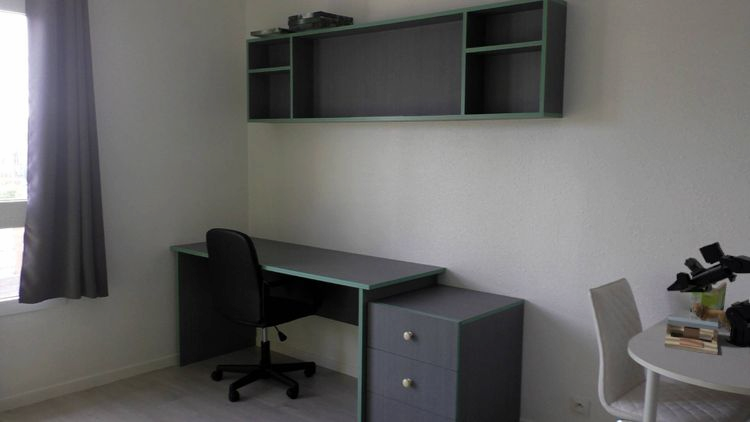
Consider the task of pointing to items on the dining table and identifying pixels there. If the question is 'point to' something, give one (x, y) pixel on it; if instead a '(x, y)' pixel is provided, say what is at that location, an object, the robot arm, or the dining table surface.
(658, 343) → the dining table surface
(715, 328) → the sliding slat
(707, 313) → the lion figurine
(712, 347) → the puzzle board
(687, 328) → the walnut block
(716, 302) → the tea box
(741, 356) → the dining table surface
